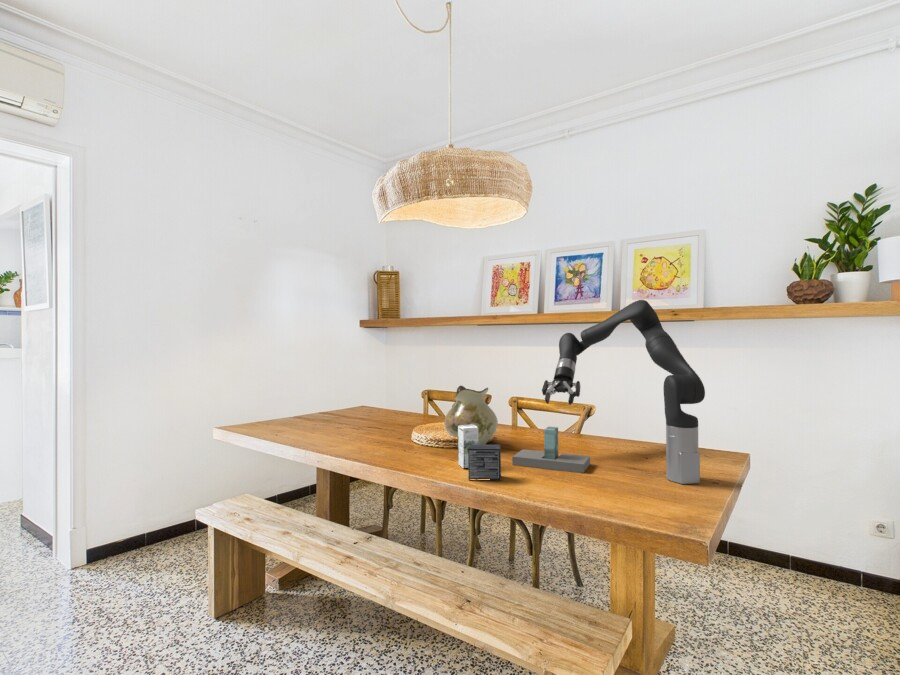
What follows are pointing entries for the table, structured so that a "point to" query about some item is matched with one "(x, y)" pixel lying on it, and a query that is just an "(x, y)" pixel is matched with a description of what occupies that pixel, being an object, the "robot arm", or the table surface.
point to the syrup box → (466, 442)
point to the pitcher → (471, 414)
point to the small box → (484, 462)
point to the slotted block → (552, 461)
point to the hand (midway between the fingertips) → (558, 402)
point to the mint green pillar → (551, 443)
